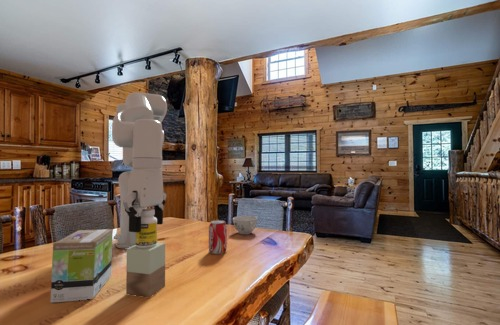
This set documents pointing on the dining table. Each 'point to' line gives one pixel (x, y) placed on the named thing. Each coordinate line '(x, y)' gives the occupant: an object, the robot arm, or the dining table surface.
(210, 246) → the soda can
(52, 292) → the tea box
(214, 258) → the dining table surface
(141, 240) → the supplement bottle
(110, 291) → the dining table surface
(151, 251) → the top block
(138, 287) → the bottom block
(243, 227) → the teacup
